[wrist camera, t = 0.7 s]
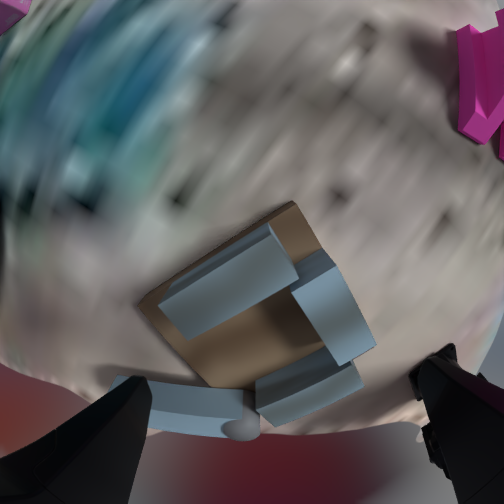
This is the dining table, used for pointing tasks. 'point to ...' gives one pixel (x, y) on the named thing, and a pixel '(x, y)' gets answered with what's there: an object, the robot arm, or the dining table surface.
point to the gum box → (12, 12)
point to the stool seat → (267, 318)
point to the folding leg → (202, 410)
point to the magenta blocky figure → (481, 82)
